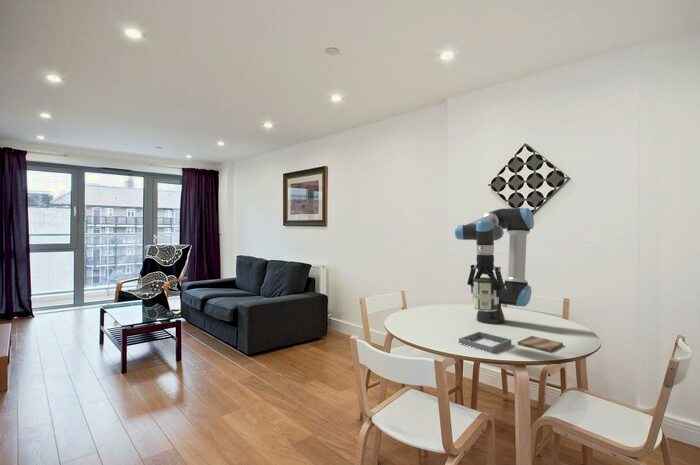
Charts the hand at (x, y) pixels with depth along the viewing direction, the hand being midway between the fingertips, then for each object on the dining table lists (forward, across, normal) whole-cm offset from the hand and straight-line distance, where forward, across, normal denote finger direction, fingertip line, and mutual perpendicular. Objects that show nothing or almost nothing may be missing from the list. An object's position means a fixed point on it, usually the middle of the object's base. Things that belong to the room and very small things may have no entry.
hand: (485, 302), depth 168 cm
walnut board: (+20, +17, +18) cm, 31 cm away
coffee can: (+3, 0, 0) cm, 3 cm away
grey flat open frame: (+20, 0, 0) cm, 20 cm away
